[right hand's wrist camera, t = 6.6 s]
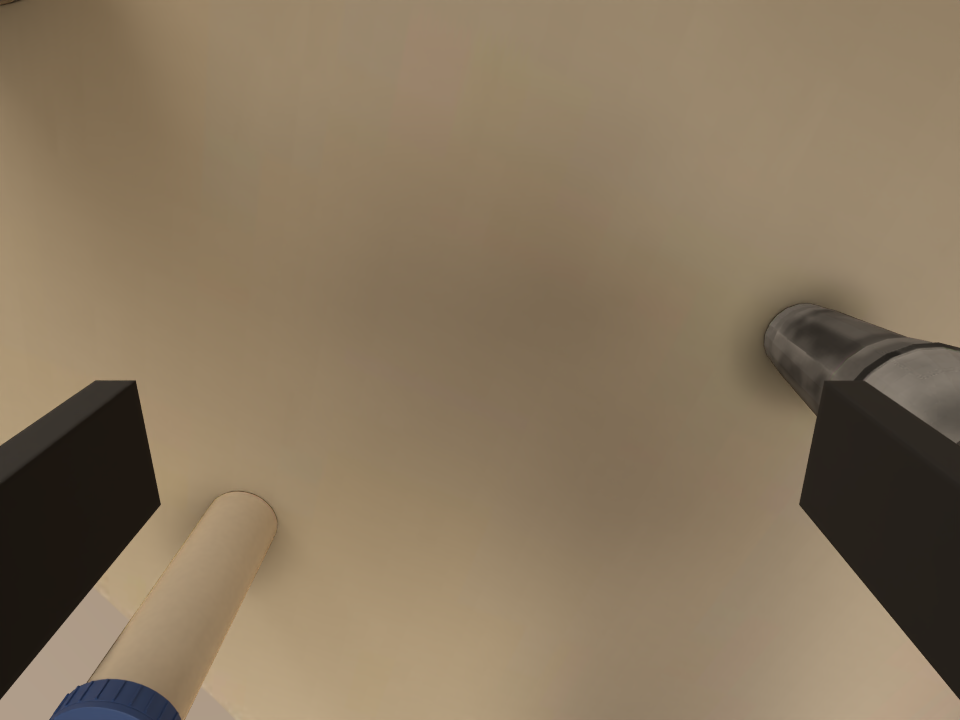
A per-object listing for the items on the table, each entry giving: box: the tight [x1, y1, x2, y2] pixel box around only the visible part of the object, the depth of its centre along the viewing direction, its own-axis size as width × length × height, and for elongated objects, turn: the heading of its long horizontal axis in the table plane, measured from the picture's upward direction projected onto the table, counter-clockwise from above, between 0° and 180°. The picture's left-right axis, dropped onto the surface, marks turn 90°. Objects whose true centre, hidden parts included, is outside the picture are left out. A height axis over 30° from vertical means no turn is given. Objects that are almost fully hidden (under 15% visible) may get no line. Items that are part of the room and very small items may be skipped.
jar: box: [87, 492, 277, 720], centre depth 38 cm, size 5×5×18 cm
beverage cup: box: [764, 304, 960, 446], centre depth 32 cm, size 7×7×20 cm
